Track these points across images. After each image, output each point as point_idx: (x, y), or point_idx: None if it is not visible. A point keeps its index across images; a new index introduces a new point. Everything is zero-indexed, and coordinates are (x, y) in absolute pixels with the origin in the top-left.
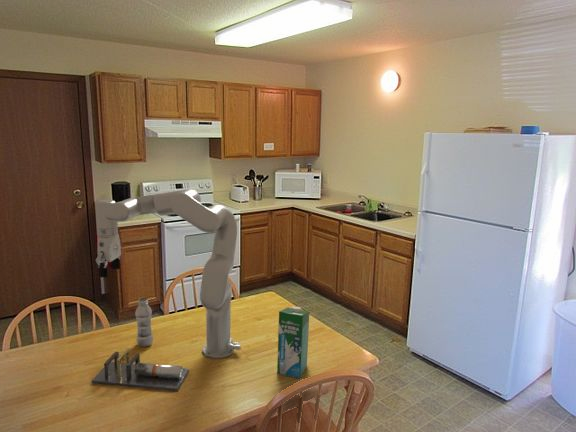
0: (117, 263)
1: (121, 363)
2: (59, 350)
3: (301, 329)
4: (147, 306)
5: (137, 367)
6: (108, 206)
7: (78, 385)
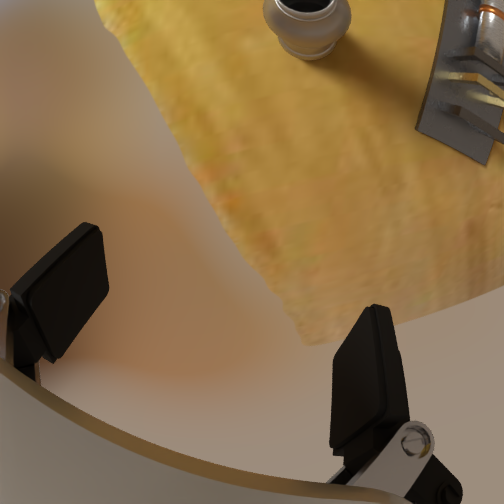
0: (61, 284)
1: (431, 96)
2: (314, 265)
3: None
4: None
5: (502, 59)
6: None
7: (478, 190)
